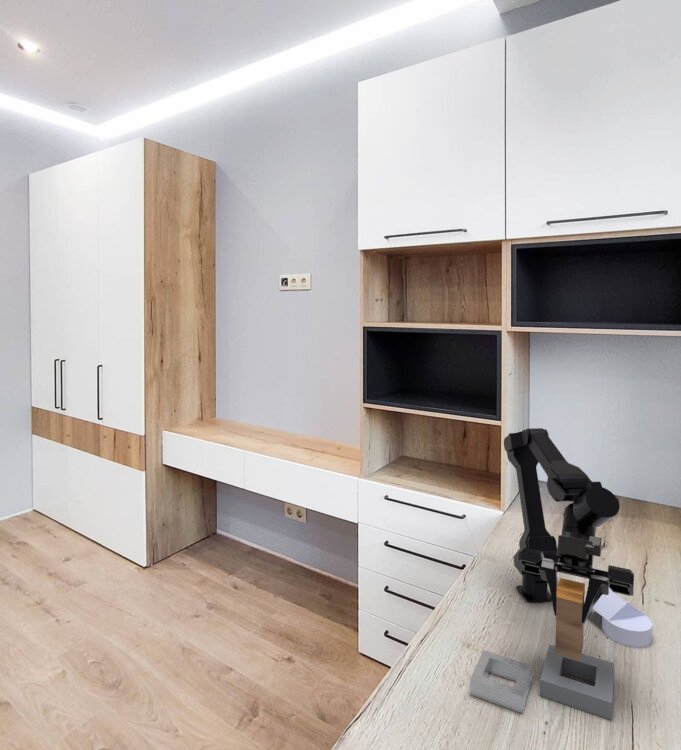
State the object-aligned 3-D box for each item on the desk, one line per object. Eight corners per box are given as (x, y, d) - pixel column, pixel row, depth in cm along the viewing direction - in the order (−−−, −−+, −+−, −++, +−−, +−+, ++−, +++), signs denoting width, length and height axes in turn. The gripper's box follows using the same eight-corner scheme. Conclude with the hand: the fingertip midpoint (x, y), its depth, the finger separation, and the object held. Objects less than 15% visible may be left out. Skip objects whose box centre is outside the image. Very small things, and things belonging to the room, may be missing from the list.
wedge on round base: (580, 613, 111) (624, 650, 98) (580, 584, 110) (625, 618, 97) (615, 608, 112) (662, 643, 100) (616, 579, 112) (664, 612, 99)
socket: (549, 658, 96) (549, 644, 95) (613, 678, 90) (614, 663, 90) (539, 695, 86) (540, 679, 86) (611, 720, 81) (612, 703, 80)
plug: (558, 640, 90) (560, 577, 89) (582, 647, 88) (585, 583, 87) (554, 653, 87) (556, 588, 86) (580, 660, 85) (582, 594, 84)
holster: (483, 664, 94) (483, 649, 94) (531, 680, 90) (532, 665, 90) (470, 694, 87) (470, 678, 87) (522, 713, 82) (522, 696, 82)
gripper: (521, 506, 94) (506, 588, 85) (636, 525, 84) (632, 620, 76) (528, 531, 101) (515, 609, 93) (635, 551, 91) (631, 640, 83)
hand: (569, 618), depth 86 cm, fingers closed on plug, 4 cm apart
